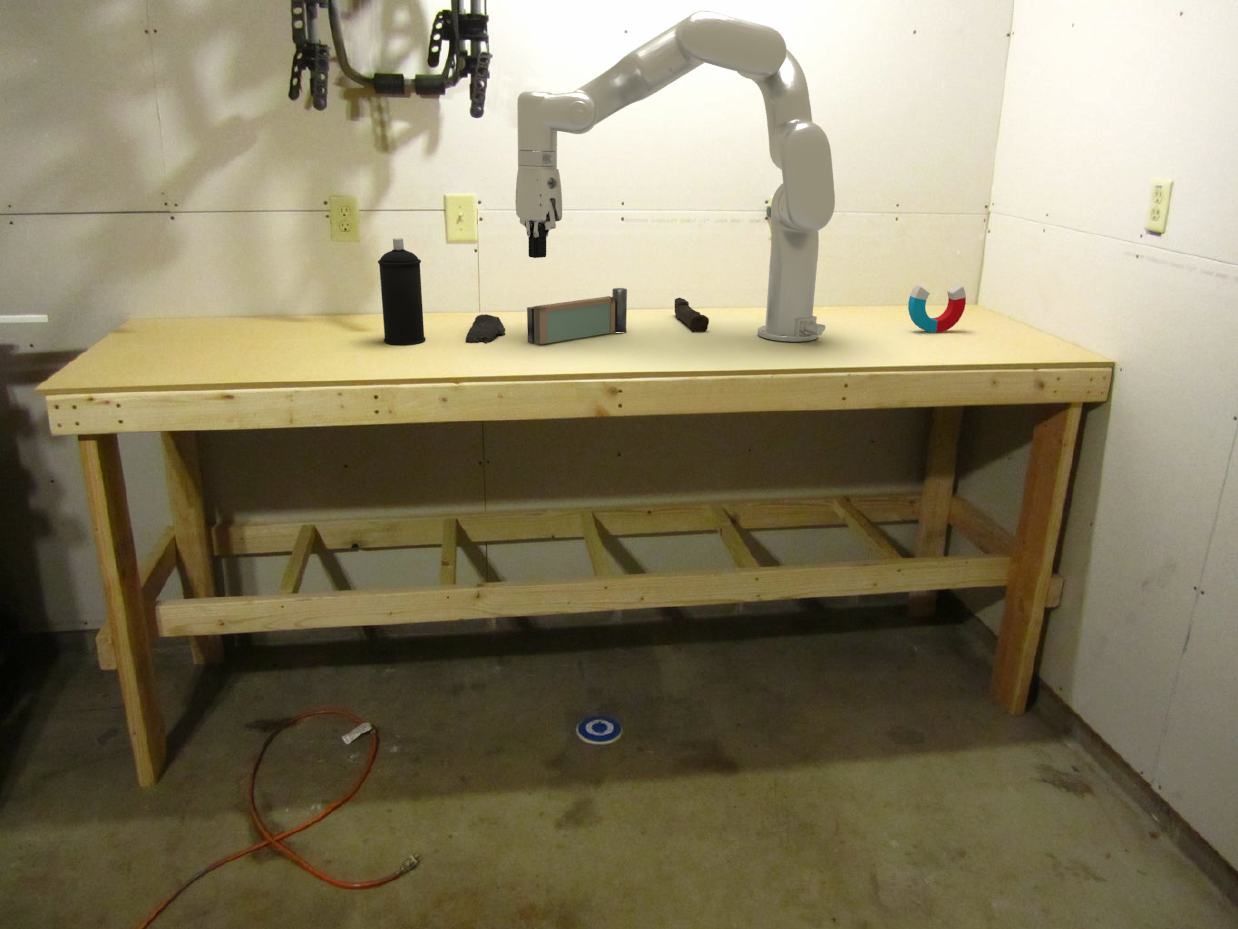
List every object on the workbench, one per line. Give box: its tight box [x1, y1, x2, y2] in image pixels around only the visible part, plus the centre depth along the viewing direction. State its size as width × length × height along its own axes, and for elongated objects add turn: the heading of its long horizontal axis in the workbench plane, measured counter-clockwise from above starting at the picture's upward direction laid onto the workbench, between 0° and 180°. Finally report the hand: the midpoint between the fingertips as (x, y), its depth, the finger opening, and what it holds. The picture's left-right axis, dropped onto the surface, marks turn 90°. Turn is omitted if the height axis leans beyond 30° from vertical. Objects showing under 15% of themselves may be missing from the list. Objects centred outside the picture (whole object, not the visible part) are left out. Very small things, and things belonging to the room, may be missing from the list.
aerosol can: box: [377, 237, 426, 346], centre depth 184 cm, size 8×8×20 cm
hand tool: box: [674, 297, 710, 333], centre depth 207 cm, size 19×4×5 cm, turn 10°
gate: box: [533, 295, 615, 345], centre depth 190 cm, size 2×19×7 cm, turn 130°
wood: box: [465, 313, 506, 345], centre depth 197 cm, size 22×7×3 cm, turn 1°
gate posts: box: [526, 287, 628, 344], centre depth 192 cm, size 3×23×9 cm, turn 124°
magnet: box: [907, 284, 967, 334], centre depth 201 cm, size 12×3×10 cm, turn 97°
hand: (537, 256), depth 187 cm, fingers closed
